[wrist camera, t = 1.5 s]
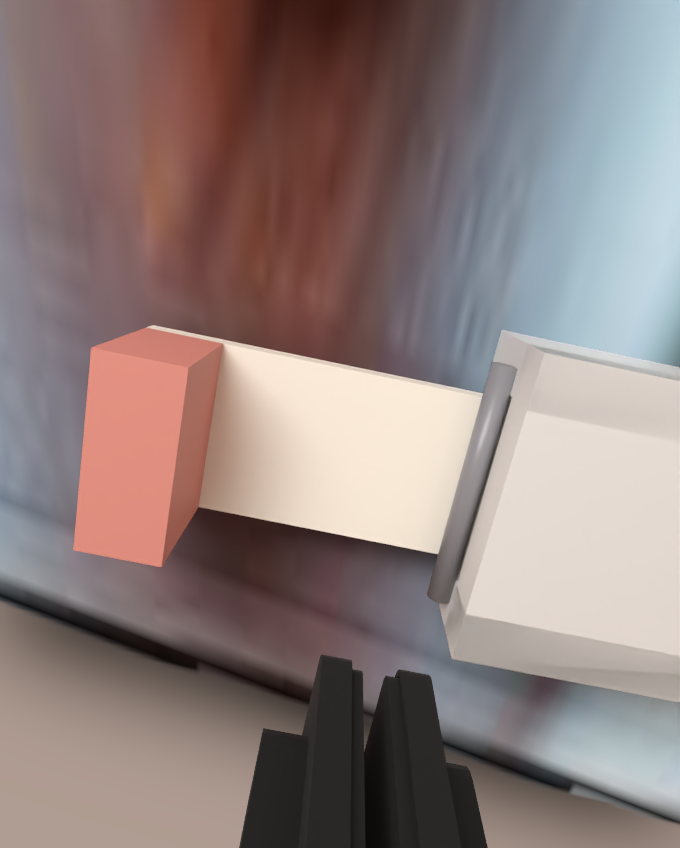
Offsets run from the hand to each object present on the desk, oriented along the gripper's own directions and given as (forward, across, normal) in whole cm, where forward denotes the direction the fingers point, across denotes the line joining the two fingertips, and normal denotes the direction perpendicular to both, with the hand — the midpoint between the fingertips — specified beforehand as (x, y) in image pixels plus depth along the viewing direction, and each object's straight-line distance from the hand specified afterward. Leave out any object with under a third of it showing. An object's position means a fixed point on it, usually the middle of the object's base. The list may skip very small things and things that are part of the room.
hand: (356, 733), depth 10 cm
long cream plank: (+15, -4, 0) cm, 16 cm away
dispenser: (+17, -12, 0) cm, 21 cm away
